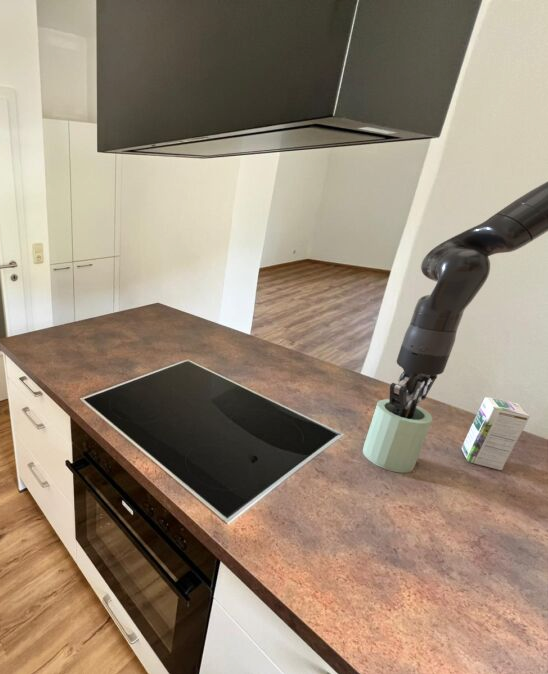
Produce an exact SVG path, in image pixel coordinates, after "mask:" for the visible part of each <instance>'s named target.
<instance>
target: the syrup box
mask: <svg viewBox="0 0 548 674" xmlns="http://www.w3.org/2000/svg"><path fill="white" fill-rule="evenodd" d="M530 417H531V415H529V414H528V413H527V411H526V410H525V409H524V408H523V407H522V406H521V405H520V403H516V402H513V401H509V400H505V399H500V398H494V397H484V399H483V401H482V403H481V405H480V407H479V410H478V412H477V413H476V416H475V417H474V419H473V422H472V424H471V426H470V428H469V430H468V432H467V434H466V437H465V439H464V441H463V444H462V446H461V451H462V453H463V455H464V457H465V460H466V461H467V462H468V463H471V464H473V465H478V466H482V467H486V468H490V469H494V470H499V471H502V470H503V469H504V467H505V466H506V463H507V461H508V459H509V457H510V455H511V454H512V451H513V450H514V447H515V446H516V444H517V442H518V440H519V438H520V437H521V434H522V433H523V431H524V429H525V427H526V425H527V423H528V421H529V419H530Z"/></svg>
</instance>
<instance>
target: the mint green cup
mask: <svg viewBox="0 0 548 674" xmlns="http://www.w3.org/2000/svg"><path fill="white" fill-rule="evenodd" d="M389 401H390V398H385V399H380V400H378V401H377V403H376V406H375V409H374V412H373V415H372V419H371V421H370V424H369V428H368V431H367V435H366V438H365V441H364V445H363V448H362V454H363V455H364V457H365V458H366V459H367V460H368V461H369V462H371V463H372V464H373V465H375V466H377V467H379V468H381V469H384V470H387V471H389V472H394V473H399V474H400V473H401V474H406V473H410V472H412V471H413V470H414V468H415V466H416V464H417V461H418V460H419V459H418V458H419V456H420V453H421V451H422V448H423V445H424V443H425V440H426V438H427V435H428V433H429V430H430V428H431V425H432V423H433V420H434V419H433V416H432V414H431V413H430V412H429V411H427V410H426V409H424V408H423V407H420V406H418V405H417V407H416V409H415V412H414V415H413V418H411V419H407V418H403V417H400V416H397V415H395V414H393V413H392V412H393V409H394V405H392V404H390V403H389Z"/></svg>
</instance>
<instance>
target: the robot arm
mask: <svg viewBox="0 0 548 674" xmlns="http://www.w3.org/2000/svg"><path fill="white" fill-rule="evenodd" d="M546 233H548V181H546V182H544V183H541V184H540V185H539V186H537V187H535V188H533V189H532V190H530V191H528V192H526V193H524V194H523V195H522V196H520V197H519V198H517V199H515V200H514V201H513V202H511V203H509V204H508V205H506V206H504V207H503V208H502V209H501V210H499V211H497V212H496V213H494V214H493V215H492V216H490V217H489V218H487V220H484V221H483V222H481V223H480V224H478V225H475V226H473V227H471V228H469V229H466V230H465V231H463V232H461V233H459V234H457V235H454V236H451V237H450V238H448V239H447V240H445V241H442V242H441V243H440V244H438V245H436V246H435V247H434V248H432V249H431V250H430V251H429V252H428V253H427V254H426V255H425V256H424V257H423V259H422V261H421V265H420V270H421V273H422V274H423V275H424V276H425V278H426V279H428V280H431V281H432V282H433V281H434V282H436V284H435V286H434V288H433V290H432V291H431V293H430V294H427V295H423V296H421V297H420V298H418V300H417V303H416V304H415V307H414V310H413V313H412V316H411V318H410V323H409V325H408V327H407V329H406V330H405V333H404V336H403V339H402V342H401V345H400V348H399V352H398V355H397V358H396V364H397V365H398V366H399V367H401V368H402V370H403V372H402V373H401V374H399V377H398V378H397V380H398V383H395V382H392V383H390V386H389V399H390V401H389V403H390V404H392V405H394V409H393V412H392V413H393V414H395V415H397V416H400V417H403V418H405V417H406V414H407V412H408V408H409V406H410V404H411V402H412V400H413V402H412V405H411V407H410V410H409V413H408V416H407V419H411V418H413V415H414V412H415V409H416V407H417V406H418V405H419V404H421V400H423V401H424V400H425V399H426V397H427V395H428V394H429V392H430V391H431V389H432V387H433V385H434V383H435V381H436V379H438V376H439V375H441V374H443V373H444V372H445V370H446V366H447V364H448V361H449V359H450V355H451V353H452V350H453V348H454V345H455V342H456V338H457V337H456V336H457V332H458V329H459V327H460V323H461V321H462V318H463V315H464V312H465V310H466V308H468V306H469V305H470V304H471V303H472V301H473V300H474V299H475V297H476V296H477V295H478V293H479V292H480V291H481V289H482V287H483V286H484V285H485V283H486V282H487V280H488V278H489V275H490V271H491V260H490V257H491V256H493V255H496V254H497V255H498V254H504V253H505V254H506V253H511V252H515V251H518V250H519V249H521V248H523V247H525V246H526V245H528V244H530V243H532V242H533V241H535V240H537V239H538V238H539V237H541V236H543V235H544V234H546ZM406 399H407V401H406Z"/></svg>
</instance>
